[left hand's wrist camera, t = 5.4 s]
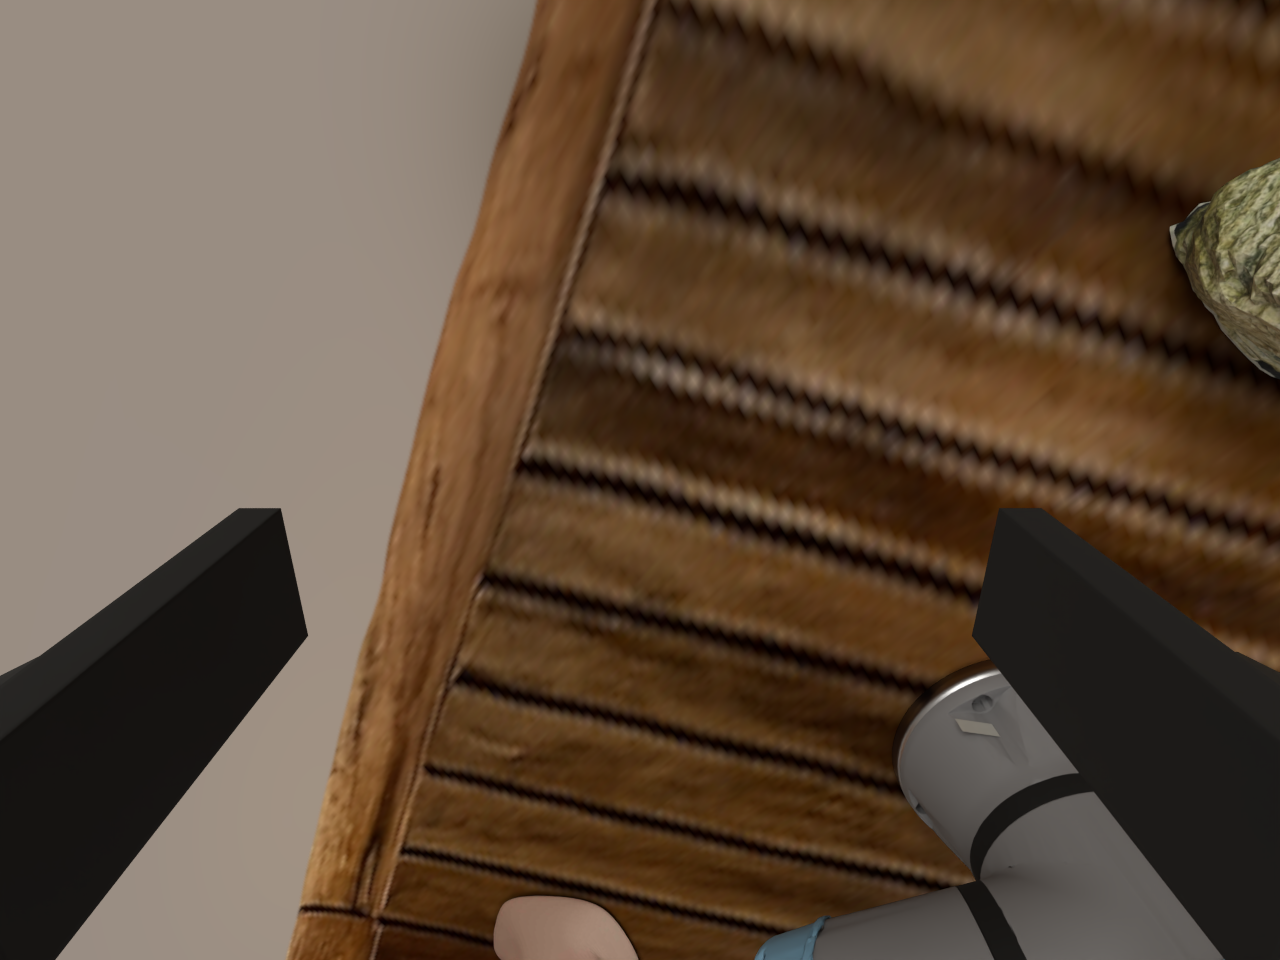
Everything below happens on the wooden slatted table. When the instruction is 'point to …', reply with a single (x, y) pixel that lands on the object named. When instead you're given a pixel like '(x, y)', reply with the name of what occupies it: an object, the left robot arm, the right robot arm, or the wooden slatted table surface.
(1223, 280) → the fossil
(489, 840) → the wooden slatted table surface
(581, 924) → the anatomical model
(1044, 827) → the left robot arm
